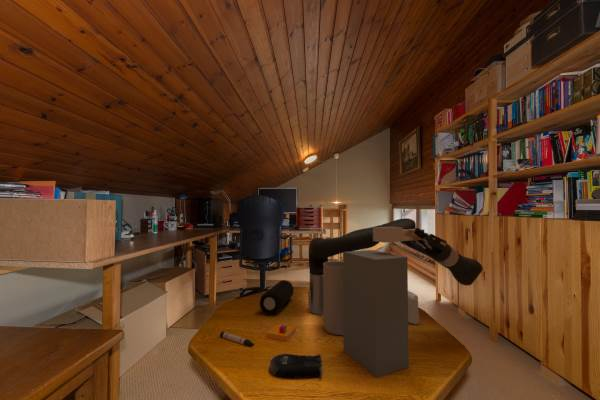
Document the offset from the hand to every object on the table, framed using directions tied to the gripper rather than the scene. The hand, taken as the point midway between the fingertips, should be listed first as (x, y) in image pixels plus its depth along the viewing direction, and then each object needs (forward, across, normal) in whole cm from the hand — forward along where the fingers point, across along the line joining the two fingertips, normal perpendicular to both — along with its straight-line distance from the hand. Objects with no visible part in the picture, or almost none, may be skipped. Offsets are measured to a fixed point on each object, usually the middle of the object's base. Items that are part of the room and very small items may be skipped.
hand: (411, 230), depth 91 cm
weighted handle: (+3, 0, +6) cm, 7 cm away
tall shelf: (-5, 0, +42) cm, 43 cm away
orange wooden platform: (+13, -26, +53) cm, 61 cm away
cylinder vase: (-7, -22, +42) cm, 48 cm away
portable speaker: (+5, -56, +48) cm, 74 cm away
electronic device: (+16, -5, +55) cm, 58 cm away
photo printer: (-33, -18, +27) cm, 46 cm away
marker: (+26, -28, +61) cm, 72 cm away
